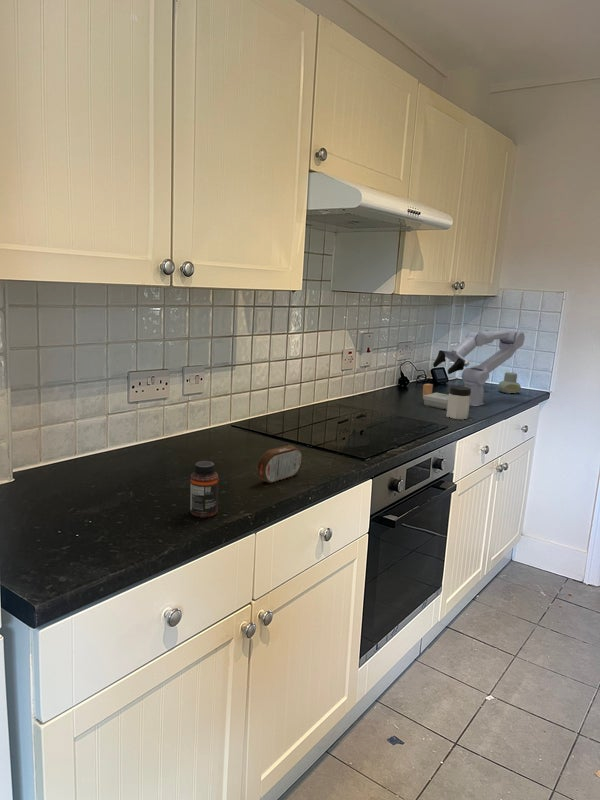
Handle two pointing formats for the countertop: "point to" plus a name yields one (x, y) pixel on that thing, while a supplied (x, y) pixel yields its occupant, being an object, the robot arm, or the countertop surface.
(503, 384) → the air freshener
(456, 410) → the jar
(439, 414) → the countertop surface
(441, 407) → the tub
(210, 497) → the supplement bottle
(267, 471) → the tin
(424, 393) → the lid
